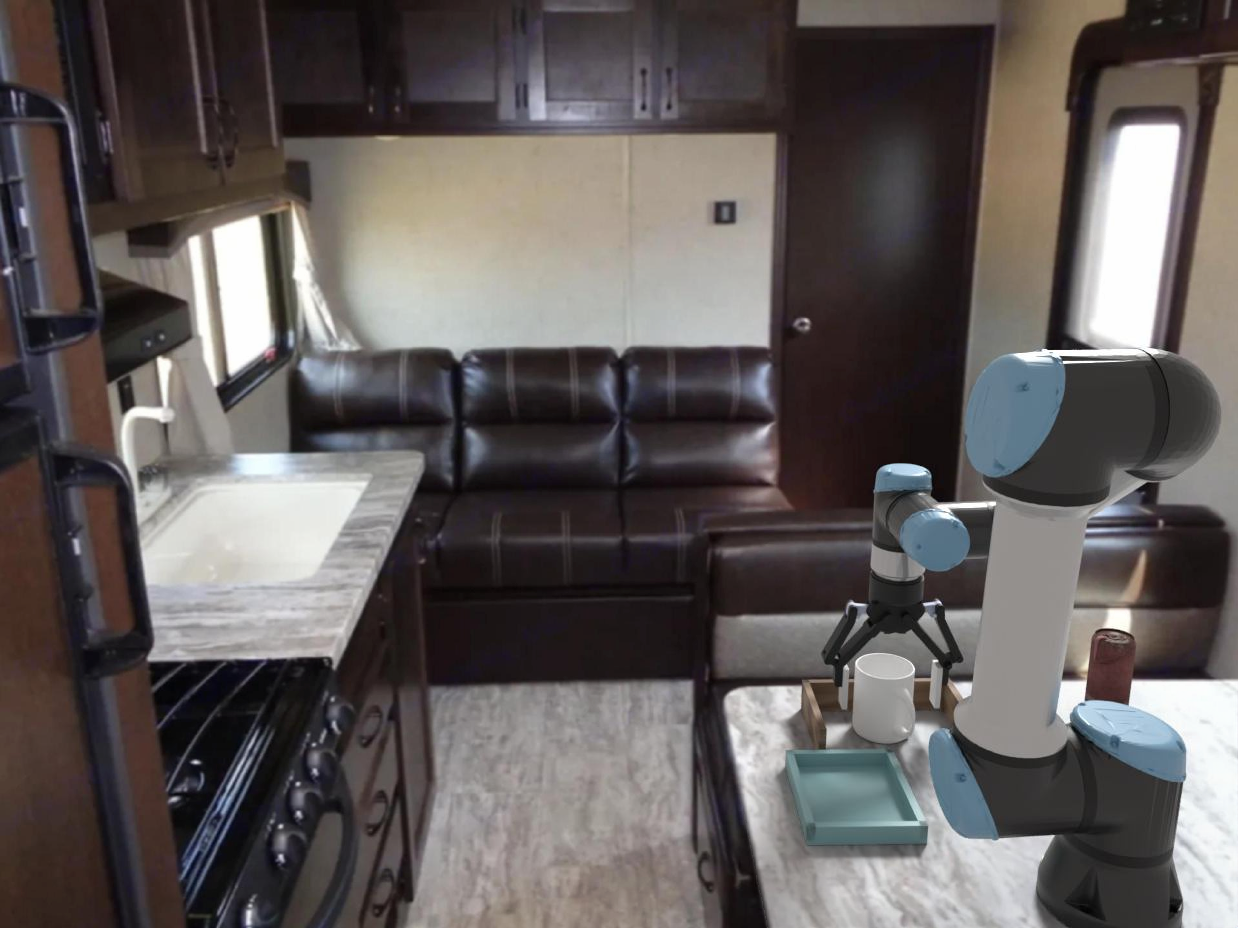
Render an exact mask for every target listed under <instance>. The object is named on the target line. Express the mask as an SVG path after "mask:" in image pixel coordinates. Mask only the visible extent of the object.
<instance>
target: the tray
mask: <svg viewBox="0 0 1238 928" xmlns="http://www.w3.org/2000/svg"><path fill="white" fill-rule="evenodd" d="M784 756H785V759H784V763H785V764H784V767H785V771H786V774H787V778H788V782H789V786H790V788H791V793H792V796H793V800H794V804H795V807H796V810H797V814H798V817H799V821H800V825H801V828H802V832H803V836H804V839H805V842H806V845H807V846H843V845H845V846H850V845H851V846H853V845H854V846H855V845H862V846H863V845H922V844H923V845H925V844H926V845H927V844H928V834H929V824H928V823H927V820H926V818H925V816H924V814H923V811H922V809H921V807H920V805H919V802H918V800H917V799H916V797H915V795H914V792H913V791H912V788H911V786H910V784H909V782H908V780H907V778H906V776H905V774H904V771H903V769H902V767H901V765H900V763H899V761H898V759H897V757H896V754H895V752H894V751H893V748H857V749H856V748H855V749H854V748H853V749H851V748H850V749H846V748H845V749H844V748H843V749H841V748H840V749H826V750H815V749H786V750H785V755H784Z"/></svg>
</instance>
